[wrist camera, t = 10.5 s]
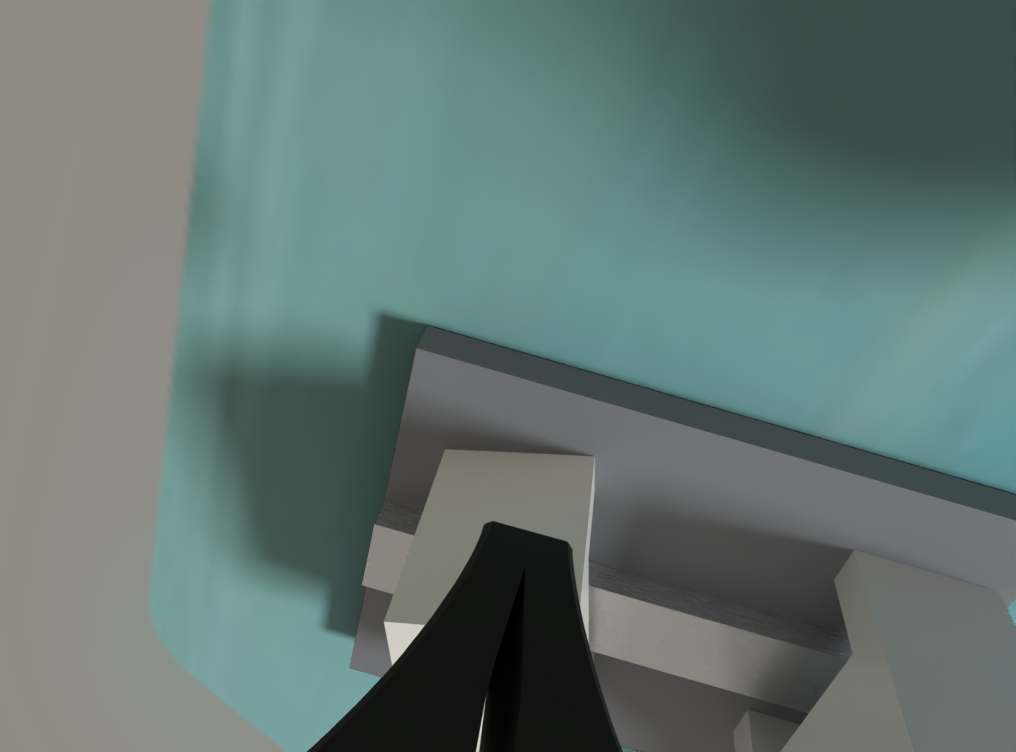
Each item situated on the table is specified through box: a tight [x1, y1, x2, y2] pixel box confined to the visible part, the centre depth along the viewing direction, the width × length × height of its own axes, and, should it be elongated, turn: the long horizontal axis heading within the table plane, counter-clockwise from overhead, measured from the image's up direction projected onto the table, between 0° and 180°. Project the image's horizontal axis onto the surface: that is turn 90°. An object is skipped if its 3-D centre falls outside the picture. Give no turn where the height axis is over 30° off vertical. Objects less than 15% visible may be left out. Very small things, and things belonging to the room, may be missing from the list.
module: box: [384, 449, 595, 752], centre depth 22 cm, size 4×9×6 cm, turn 3°
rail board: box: [349, 326, 1016, 752], centre depth 22 cm, size 17×13×7 cm
